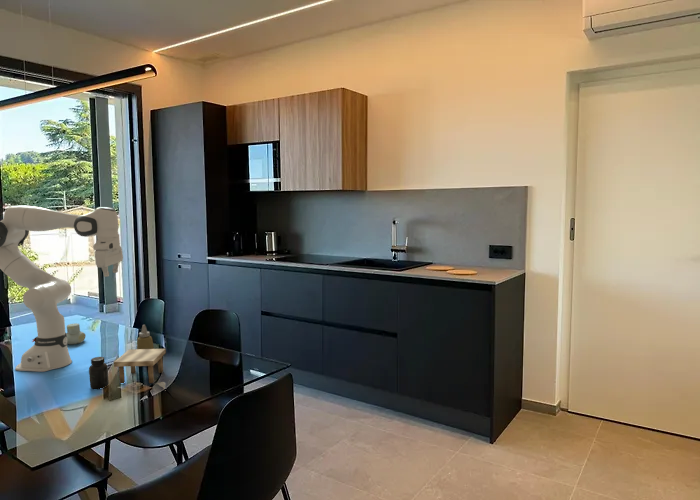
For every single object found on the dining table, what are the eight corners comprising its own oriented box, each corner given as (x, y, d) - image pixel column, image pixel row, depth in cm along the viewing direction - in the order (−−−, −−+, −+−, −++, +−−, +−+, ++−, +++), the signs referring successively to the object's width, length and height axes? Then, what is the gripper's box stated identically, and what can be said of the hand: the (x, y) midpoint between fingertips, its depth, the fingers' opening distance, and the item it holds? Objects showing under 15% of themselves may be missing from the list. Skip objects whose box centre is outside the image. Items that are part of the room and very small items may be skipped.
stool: (115, 385, 206) (113, 362, 205) (130, 371, 222) (129, 349, 221) (154, 384, 207) (153, 361, 206) (166, 370, 223) (165, 348, 222)
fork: (174, 405, 193) (174, 399, 192) (152, 384, 207) (152, 378, 207) (181, 403, 195) (181, 397, 194) (159, 383, 209) (159, 377, 209)
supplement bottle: (105, 382, 210) (103, 354, 208) (111, 386, 205) (109, 358, 204) (88, 386, 205) (85, 358, 204) (93, 391, 200) (91, 362, 199)
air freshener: (76, 346, 258) (74, 327, 257) (60, 346, 258) (59, 327, 257) (87, 339, 269) (86, 321, 268) (72, 339, 269) (71, 322, 268)
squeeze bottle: (148, 365, 229) (146, 327, 226) (133, 364, 230) (130, 327, 228) (158, 359, 236) (156, 323, 234) (143, 358, 238) (141, 322, 236)
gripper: (111, 241, 230) (113, 270, 232) (91, 246, 210) (93, 278, 212) (125, 241, 230) (127, 270, 232) (106, 246, 210) (108, 278, 212)
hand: (111, 274), depth 222 cm, fingers open, 8 cm apart
